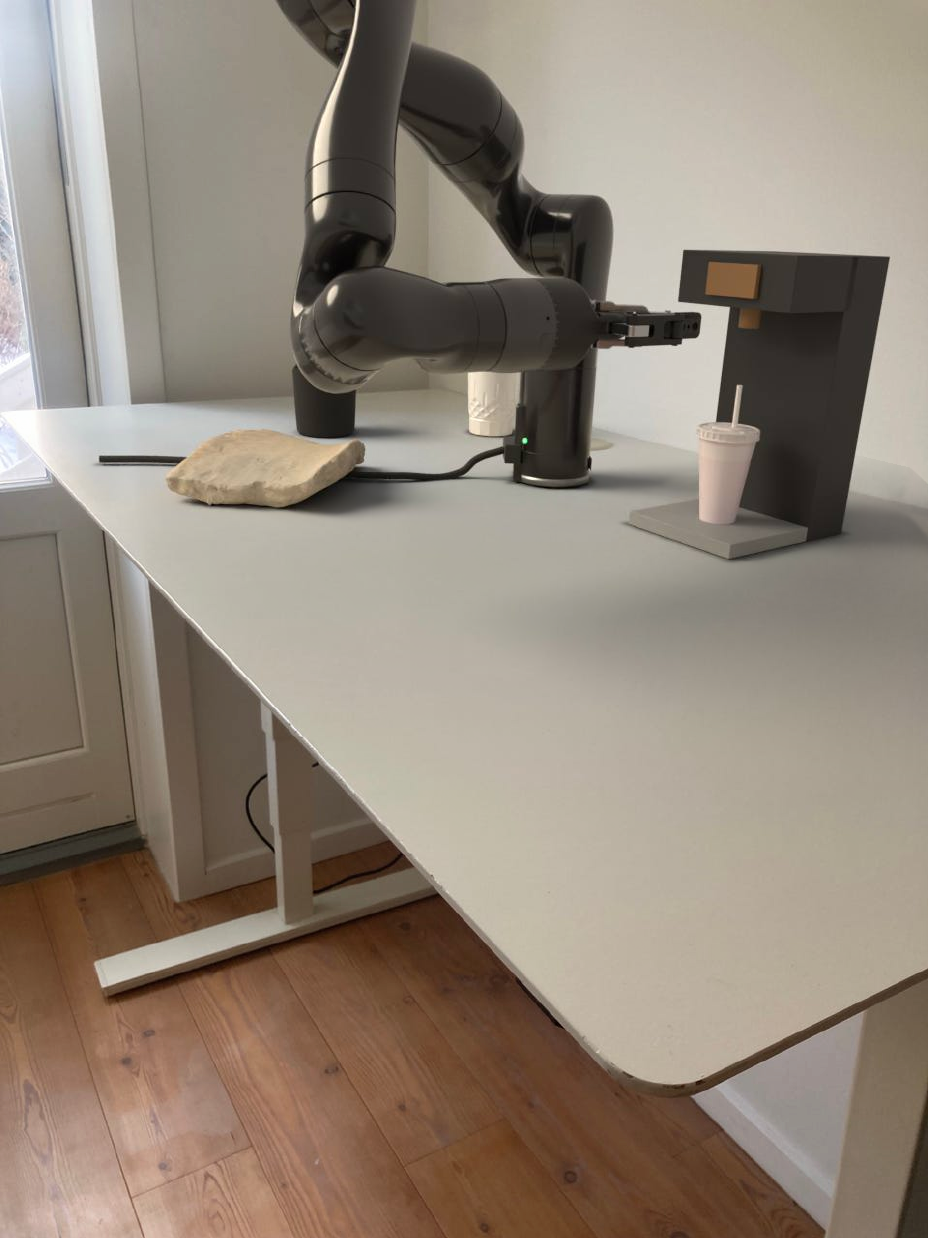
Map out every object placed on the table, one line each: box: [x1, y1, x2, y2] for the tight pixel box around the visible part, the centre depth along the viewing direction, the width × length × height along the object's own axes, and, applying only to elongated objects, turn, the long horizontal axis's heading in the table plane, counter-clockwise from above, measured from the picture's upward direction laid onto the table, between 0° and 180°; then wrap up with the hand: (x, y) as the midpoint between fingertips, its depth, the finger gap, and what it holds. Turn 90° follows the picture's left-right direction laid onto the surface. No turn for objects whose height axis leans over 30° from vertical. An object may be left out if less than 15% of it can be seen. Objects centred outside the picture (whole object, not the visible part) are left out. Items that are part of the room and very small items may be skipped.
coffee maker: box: [628, 249, 891, 560], centre depth 102 cm, size 18×14×28 cm
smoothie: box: [695, 385, 760, 524], centre depth 102 cm, size 6×6×14 cm
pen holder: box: [291, 363, 357, 439], centre depth 147 cm, size 9×9×10 cm
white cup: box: [467, 372, 520, 437], centre depth 151 cm, size 8×8×10 cm
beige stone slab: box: [165, 428, 366, 508], centre depth 118 cm, size 24×8×20 cm
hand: (662, 320), depth 91 cm, fingers open, 8 cm apart
